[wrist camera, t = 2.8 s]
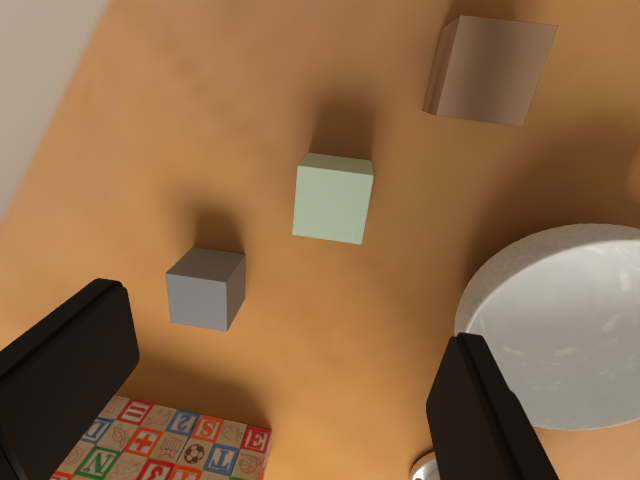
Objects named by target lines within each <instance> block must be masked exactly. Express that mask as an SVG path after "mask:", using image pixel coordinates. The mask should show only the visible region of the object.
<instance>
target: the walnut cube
mask: <svg viewBox="0 0 640 480" xmlns="http://www.w3.org/2000/svg"><path fill="white" fill-rule="evenodd" d="M557 28H558V25H549V24H540V23H530V22H521V21H511V20H502V19H493V18H483V17H474V16H464V15H460V16H459V17H457V18H456V19H455V20H453V21H452V22H451V23H449V24H448V25H447V26H445V27H444V28H443V29H441V30H440V34H439V38H438V42H437V47H436V51H435V56H434V60H433V65H432V69H431V73H430V78H429V82H428V87H427V91H426V96H425V100H424V104H423V109H422V111H424V112H427V113H430V114H433V115H435V116H442V117H450V118H458V119H466V120H475V121H483V122H491V123H499V124H507V125H515V126H523V124H524V121H525V118H526V115H527V113H528V110H529V107H530V104H531V101H532V98H533V96H534V93H535V90H536V87H537V84H538V82H539V79H540V76H541V73H542V70H543V67H544V65H545V62H546V59H547V56H548V53H549V50H550V48H551V45H552V42H553V39H554V36H555V34H556V31H557Z"/></svg>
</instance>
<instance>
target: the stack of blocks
mask: <svg viewBox="0 0 640 480" xmlns="http://www.w3.org/2000/svg"><path fill="white" fill-rule="evenodd" d="M271 437H272V430H268V429H264V428H259V427H254V426H248V425H247V424H243V423H239V422H235V421H230V420H224V419H221V418H216V417H212V416H208V415H203V414H202V415H200V414H197V413H192V412H187V411H183V410H177V409H173V408H169V407H164V406H159V405H154V404H152V403H147V402H143V401H138V400H134V399H129V398H125V397H121V396H116V395H114V396H113V397H112V399H111V400H110V401H109V403H108V404H107V405H106V406H105V408H104V409H103V410H102V412H101V413H100V414H99V416H98V417H97V418H96V419H95V421H94V422H93V423H92V425H91V426H90V427H89V429H88V430H87V431H86V432H85V434H84V435H83V436H82V438H81V439H80V440H79V442H78V443H77V444H76V445H75V447H74V448H73V449H72V451H71V452H70V453H69V455H68V456H67V457H66V458H65V460H64V461H63V462H62V464H61V465H60V466H59V468H58V469H57V470H56V471H55V473H54V474H53V475H52V477H51V478H50V479H49V480H263V479H264V475H265V470H266V466H267V462H268V456H269V449H270V444H271Z"/></svg>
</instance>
